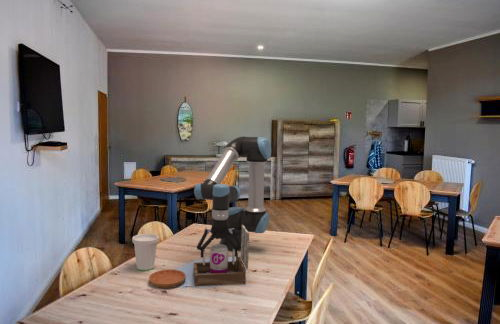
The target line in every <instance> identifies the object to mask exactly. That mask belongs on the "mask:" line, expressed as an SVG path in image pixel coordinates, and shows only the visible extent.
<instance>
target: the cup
mask: <svg viewBox="0 0 500 324" xmlns="http://www.w3.org/2000/svg"><path fill="white" fill-rule="evenodd" d="M159 237H160V236H159V235H158V234H154V233H140V234H136V235H134V236H132V239H131V242H132V244H134V254H135V256H134V257H135V264H136V270H138V271H139V272H140V271H141V272H147V271H148V272H149V271H152V270H154V269H155V262H156V254H157V246H158V243H159V240H160V238H159Z"/></svg>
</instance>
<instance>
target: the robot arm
mask: <svg viewBox="0 0 500 324" xmlns="http://www.w3.org/2000/svg"><path fill="white" fill-rule="evenodd" d="M271 155H272V146H271V142H270V140H269V139H268V138H266V137H262V136H238V137H236V138H234V139H232V140H230V142H228V143H227V144H226V145H225V146H224V147H223V149H222V153H221V156H220V157H219V159H218V161H217V162H216V163H215V165H214V166H213V168H212V169H211V171H210V173H208V175H207V177H206V179H205V180H204V181H203V183H200V182H198V183H197V184H195V186H194V189H193V194H194V196H195V198H196V199H200V200H207V201H212V202H211V203H212V204H211V205H212V207H211V228H206V227H205V228H204V231H203V235H202V236H201V238H200V240H199V241H198V243H197V245H196V249H197V250H199V251H200V258H202V262H203V265H205V262H206V248H207V247H208V246H209V245H210V244H211V242H213V240H215V239H216V240H219V239H220V241H219V244H222V245H226V246H227V248H228V252H229V251H231V252H232V254H231V255H232V256H231V261H232V263H233V264H235V261H236V257H237V252H238V251H241V228H242V225H244V227H245V228H246V230H247V231H248V233H253V234H264V233H265V232H266V231H267V229H268V226H269V223H270V214H269V213H268V212H267V208H265V207H264V197H265V196H264V195H265V188H264V187H265V165H266V164H267V163H268V160H269V159H271ZM240 158H246V163H248V202H247V203H248V204H247V207H245V209H244V207H242V206H232V207H230V204H231V203H234V202H236V201H238V200H239V199H240V197H241V193H242V192H241V189H240V188H239V186H236V185H229V184H226V183H222V182H223V181H224V179H225V177H226V175H227V174H228V172H229V171H230V169H231V168H232V166H233V164H234V162H236V161H238V160H239V159H240ZM209 234H211V235H210V236H209V237H208V239H207V240H206V238H207V236H208V235H209Z"/></svg>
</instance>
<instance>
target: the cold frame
mask: <svg viewBox="0 0 500 324" xmlns="http://www.w3.org/2000/svg"><path fill="white" fill-rule="evenodd" d="M249 245H250V232H248V231H247V230H246V228H245V227H244V225H242V228H241V250H240V256H239V252H238V251H237V257H235V264H233V263H232V260H231V261H230V260H228V273H212V274H210V261H205V265H203V261H201V262H193V271H192V273H193V280H194V287H209V286H228V285H232V286H233V285H246V277H247V276H246V273H247V270H248V269H249V250H250V246H249ZM199 273H200V274H199Z"/></svg>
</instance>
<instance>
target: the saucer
mask: <svg viewBox="0 0 500 324" xmlns="http://www.w3.org/2000/svg"><path fill="white" fill-rule="evenodd" d="M186 277H187V275H186V273H185V272H184V271H182V270H178V269H161V270H157V271H154V272H152V273H151V274H150V275H149V277H148V280H149V282H150V284H152V285H153V286H154V287H157V288H161V289H170V288H172V289H173V288H175V287H177V286H180V285H181V284H182V283H183V282H184V281H186Z"/></svg>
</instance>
